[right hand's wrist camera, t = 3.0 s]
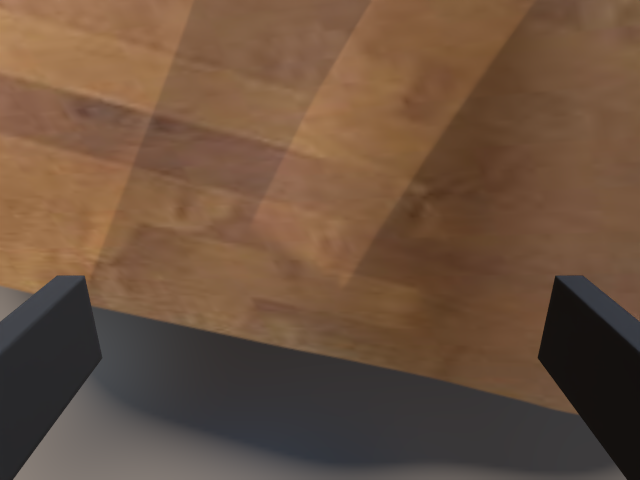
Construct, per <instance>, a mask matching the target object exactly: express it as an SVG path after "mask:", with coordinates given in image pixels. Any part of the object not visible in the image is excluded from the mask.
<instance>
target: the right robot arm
mask: <svg viewBox="0 0 640 480" xmlns="http://www.w3.org/2000/svg"><path fill="white" fill-rule="evenodd" d="M101 359H102V354H101V350H100V345H99V340H98V336H97V331H96V327H95V322H94V317H93V312H92V308H91V303H90V298H89V294H88V289H87V285H86V280H85V276H56V277H55V278H54V279H52V280H51V281H50V282H49V283H47V284H46V285H45V286H44V287H43V288H41V289H40V290H39V291H38V292H36V293H35V294H34V295H33V296H31V297H30V298H29V299H28V300H27V301H25V302H24V303H23V304H22V305H20V306H19V307H18V308H17V309H15V310H14V311H13V312H12V313H11V314H9V315H8V316H7V317H6V318H4V319H3V320H2V321H1V322H0V480H13V479H14V477H15V476H16V475H17V473H18V472H19V470H20V469H21V468H22V466H23V465H24V464H25V462H26V461H27V460H28V458H29V457H30V456H31V454H32V453H33V451H34V450H35V449H36V447H37V446H38V445H39V443H40V442H41V441H42V439H43V438H44V436H45V435H46V434H47V432H48V431H49V430H50V428H51V427H52V426H53V424H54V423H55V422H56V420H57V419H58V417H59V416H60V415H61V413H62V412H63V411H64V409H65V408H66V407H67V405H68V404H69V403H70V401H71V400H72V398H73V397H74V396H75V394H76V393H77V392H78V390H79V389H80V388H81V386H82V385H83V383H84V382H85V381H86V379H87V378H88V377H89V375H90V374H91V373H92V371H93V370H94V369H95V367H96V366H97V364H98V363H99V362H100V360H101ZM538 359H539V360H540V362H541V363H542V365H543V366H544V367H545V369H546V370H547V371H548V373H549V374H550V375H551V377H552V378H553V379H554V381H555V382H556V384H557V385H558V386H559V388H560V389H561V390H562V392H563V393H564V394H565V396H566V397H567V398H568V400H569V401H570V403H571V404H572V405H573V407H574V408H575V409H576V411H577V412H578V413H579V415H580V416H581V418H582V419H583V420H584V422H585V423H586V424H587V426H588V427H589V428H590V430H591V431H592V432H593V434H594V435H595V437H596V438H597V439H598V441H599V442H600V443H601V445H602V446H603V447H604V449H605V450H606V451H607V453H608V454H609V456H610V457H611V458H612V460H613V461H614V462H615V464H616V465H617V466H618V468H619V469H620V471H621V472H622V473H623V475H624V476H625V477H626V479H627V480H640V322H639V321H638V320H637V319H636V318H634V317H633V316H632V315H631V314H629V313H628V312H627V311H626V310H625V309H623V308H622V307H621V306H620V305H618V304H617V303H616V302H615V301H613V300H612V299H611V298H610V297H609V296H607V295H606V294H605V293H604V292H602V291H601V290H600V289H599V288H597V287H596V286H595V285H594V284H593V283H591V282H590V281H589V280H588V279H586V278H585V277H584V276H555V280H554V285H553V289H552V294H551V298H550V303H549V308H548V312H547V317H546V322H545V326H544V331H543V336H542V340H541V345H540V350H539V354H538Z"/></svg>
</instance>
